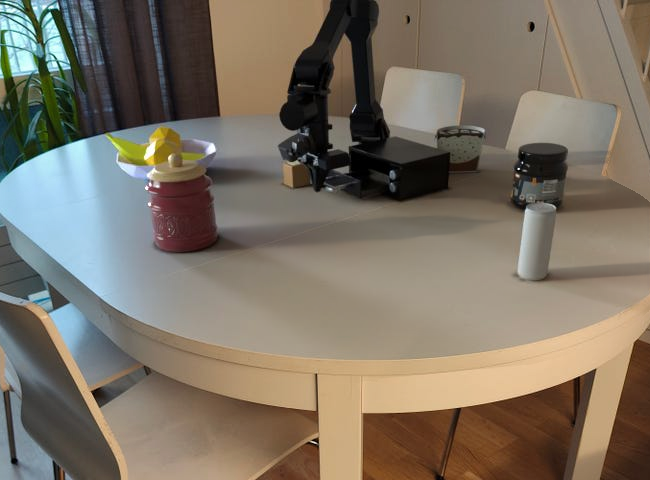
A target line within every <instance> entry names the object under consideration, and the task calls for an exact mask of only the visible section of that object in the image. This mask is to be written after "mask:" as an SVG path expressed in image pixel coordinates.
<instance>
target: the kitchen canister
mask: <svg viewBox="0 0 650 480" xmlns="http://www.w3.org/2000/svg"><path fill="white" fill-rule="evenodd" d="M206 173H207V168H205V167H204V166H202V165H200V164H198V163H197V162H195V161H192V160H182V157H181V156H180V155H179V154H177V153H174V154H171V155H170V157H169V161H168V162H164V163H161V164H158V165H157V166H155V167H154V169H153V170H151V171H150V172H149V173H148V178H149V179H151V180H149V181H148V183H146V184H145V191H146V192H147V193H148V194H149V201H148V204H147V206H148V208H149V211H150V219H151V224H152V228H153V232H152V235H153V239H154V241H155V244H156V247H158V248H159V249H160V250H163V251H165V252H166V251H167V252H173V253H185V252H193V251H199V250H201V249H202V250H203V249H205V248H208V247H209V246H212V245H213V244H214V243H215V242H216V241H217V239H218V234H219V229H218V224H217V218H216V210H215V201H214V200H215V196H214V194H213V193H212V190H211V186H212V184H213V180H212V178H211V177H210V176H208V175H206Z"/></svg>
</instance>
